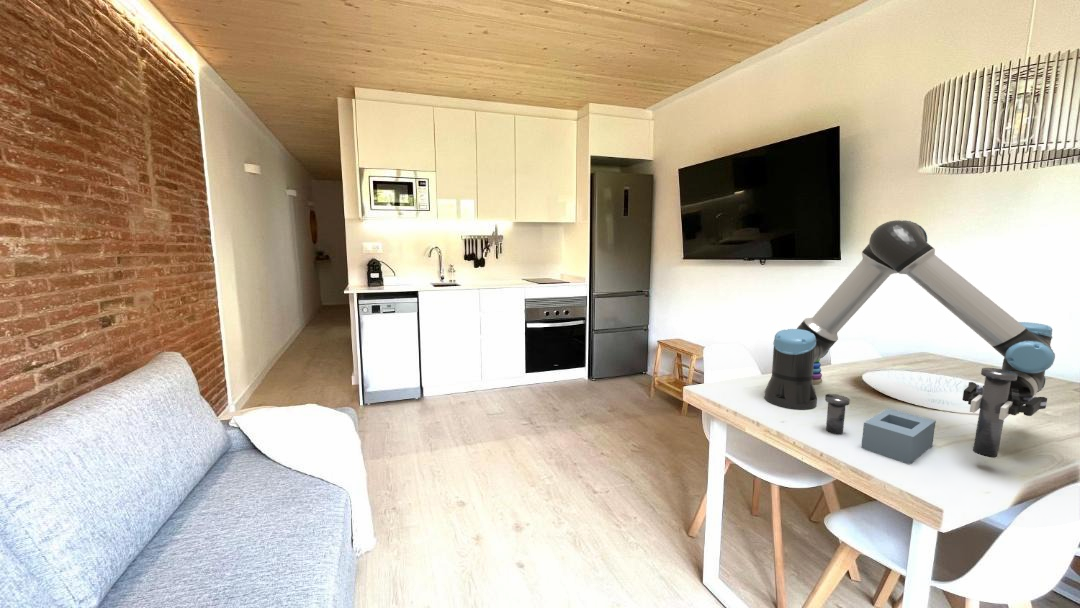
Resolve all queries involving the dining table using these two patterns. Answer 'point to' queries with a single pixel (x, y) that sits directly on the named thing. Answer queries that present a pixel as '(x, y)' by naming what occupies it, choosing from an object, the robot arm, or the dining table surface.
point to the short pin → (836, 413)
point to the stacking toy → (817, 373)
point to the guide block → (898, 435)
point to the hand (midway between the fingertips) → (987, 410)
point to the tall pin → (992, 410)
